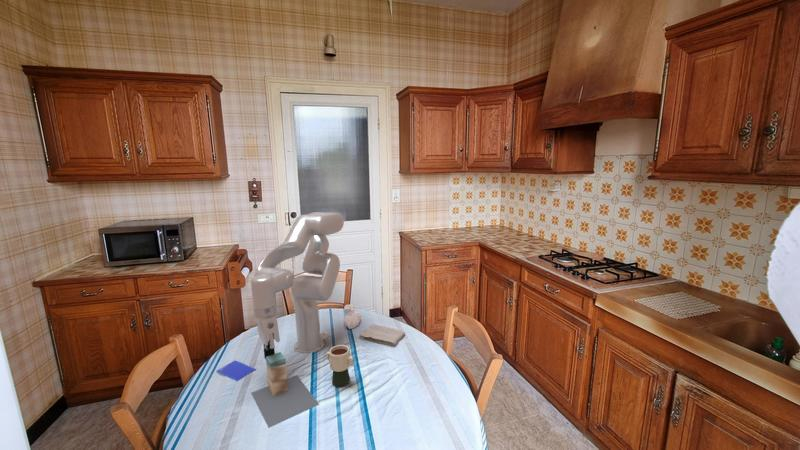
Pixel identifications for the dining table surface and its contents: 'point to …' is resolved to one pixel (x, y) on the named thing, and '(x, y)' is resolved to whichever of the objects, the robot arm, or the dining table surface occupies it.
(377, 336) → the washcloth
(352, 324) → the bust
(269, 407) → the rubber mat
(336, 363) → the character mug
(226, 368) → the hard drive
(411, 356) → the dining table surface
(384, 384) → the dining table surface
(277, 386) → the maple block
